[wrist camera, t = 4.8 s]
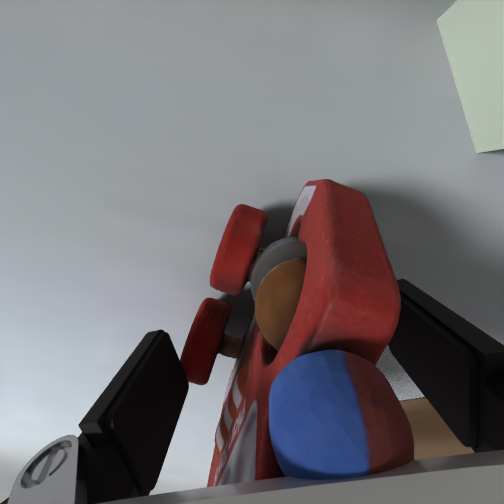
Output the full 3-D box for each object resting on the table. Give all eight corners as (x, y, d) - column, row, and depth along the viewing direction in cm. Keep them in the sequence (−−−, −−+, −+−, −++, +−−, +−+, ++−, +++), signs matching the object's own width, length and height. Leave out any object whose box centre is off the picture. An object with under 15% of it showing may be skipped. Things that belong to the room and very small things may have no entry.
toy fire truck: (379, 210, 12) (1030, 359, 2) (287, 389, 15) (338, 778, 5) (251, 161, 11) (187, 7, 1) (185, 357, 15) (32, 717, 5)
